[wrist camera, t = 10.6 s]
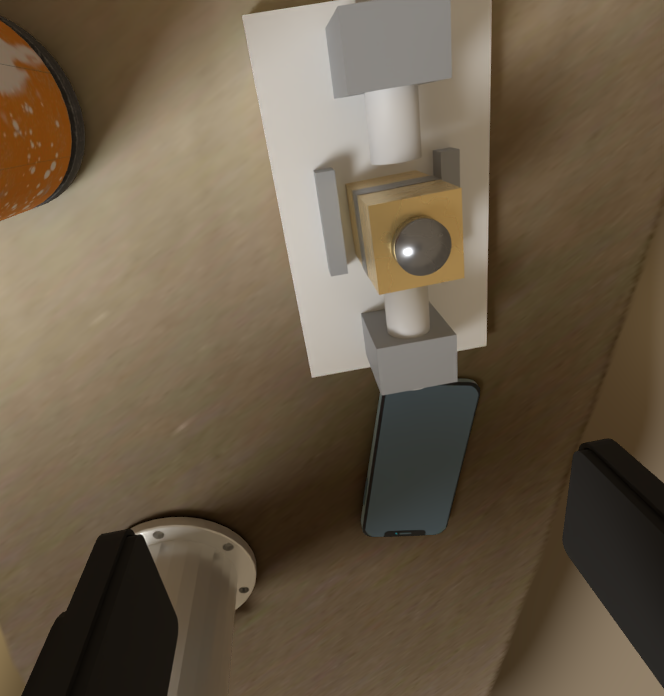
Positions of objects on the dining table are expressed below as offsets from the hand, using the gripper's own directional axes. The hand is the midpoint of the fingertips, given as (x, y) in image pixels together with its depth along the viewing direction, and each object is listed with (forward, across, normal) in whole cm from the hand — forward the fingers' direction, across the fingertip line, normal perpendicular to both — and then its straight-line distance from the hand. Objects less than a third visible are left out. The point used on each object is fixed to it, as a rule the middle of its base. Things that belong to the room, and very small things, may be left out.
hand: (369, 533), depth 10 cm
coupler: (+19, -5, -3) cm, 20 cm away
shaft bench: (+20, -5, -3) cm, 21 cm away
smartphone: (+22, -7, +16) cm, 28 cm away
